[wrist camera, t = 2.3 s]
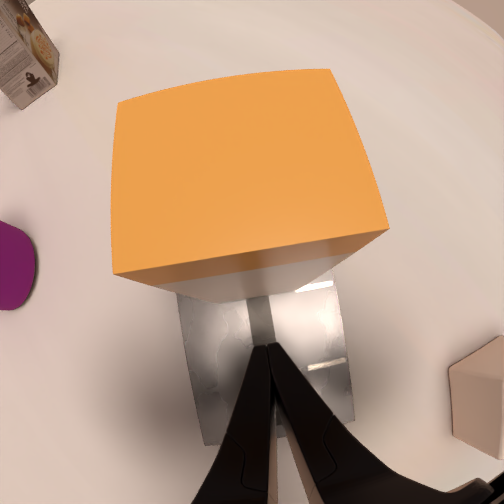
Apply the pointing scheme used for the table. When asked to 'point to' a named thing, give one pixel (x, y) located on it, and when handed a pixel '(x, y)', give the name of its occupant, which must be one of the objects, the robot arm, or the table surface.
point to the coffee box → (25, 54)
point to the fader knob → (240, 185)
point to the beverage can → (15, 266)
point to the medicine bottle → (480, 399)
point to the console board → (263, 332)
